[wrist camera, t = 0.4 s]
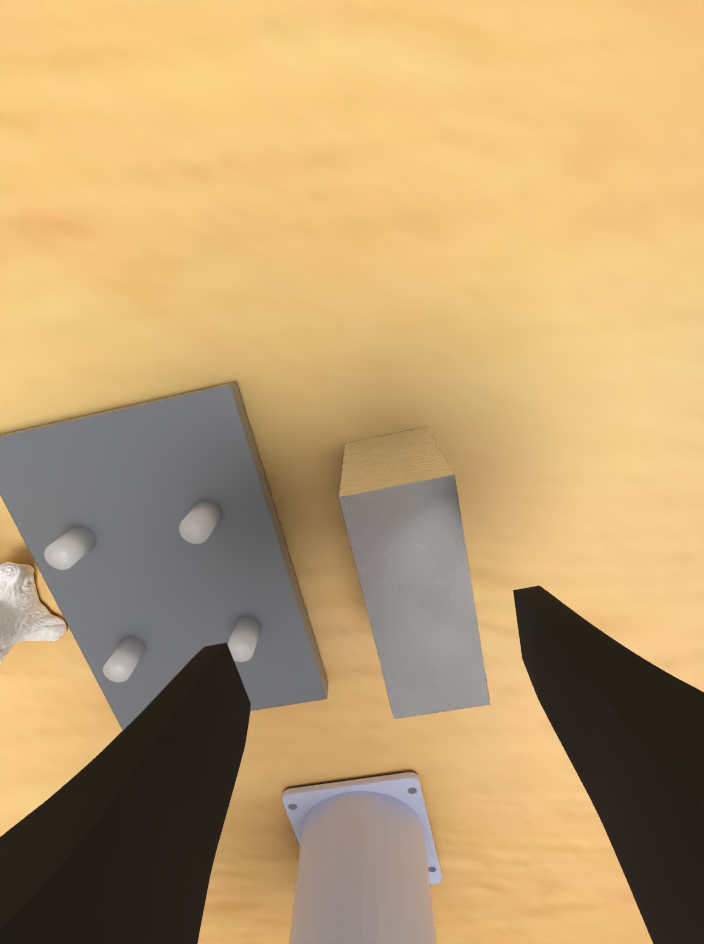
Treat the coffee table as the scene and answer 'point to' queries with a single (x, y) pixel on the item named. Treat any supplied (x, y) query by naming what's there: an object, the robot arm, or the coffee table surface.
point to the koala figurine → (23, 609)
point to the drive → (414, 571)
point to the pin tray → (163, 546)
